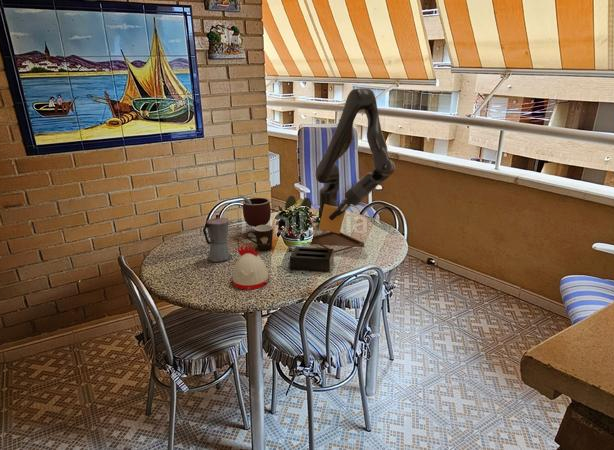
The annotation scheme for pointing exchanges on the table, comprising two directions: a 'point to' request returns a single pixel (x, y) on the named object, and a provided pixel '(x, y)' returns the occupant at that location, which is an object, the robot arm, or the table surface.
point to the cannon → (301, 202)
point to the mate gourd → (256, 212)
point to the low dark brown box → (312, 259)
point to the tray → (336, 240)
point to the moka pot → (217, 238)
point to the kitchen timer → (249, 270)
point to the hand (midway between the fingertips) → (330, 218)
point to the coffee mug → (263, 237)
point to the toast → (331, 224)
